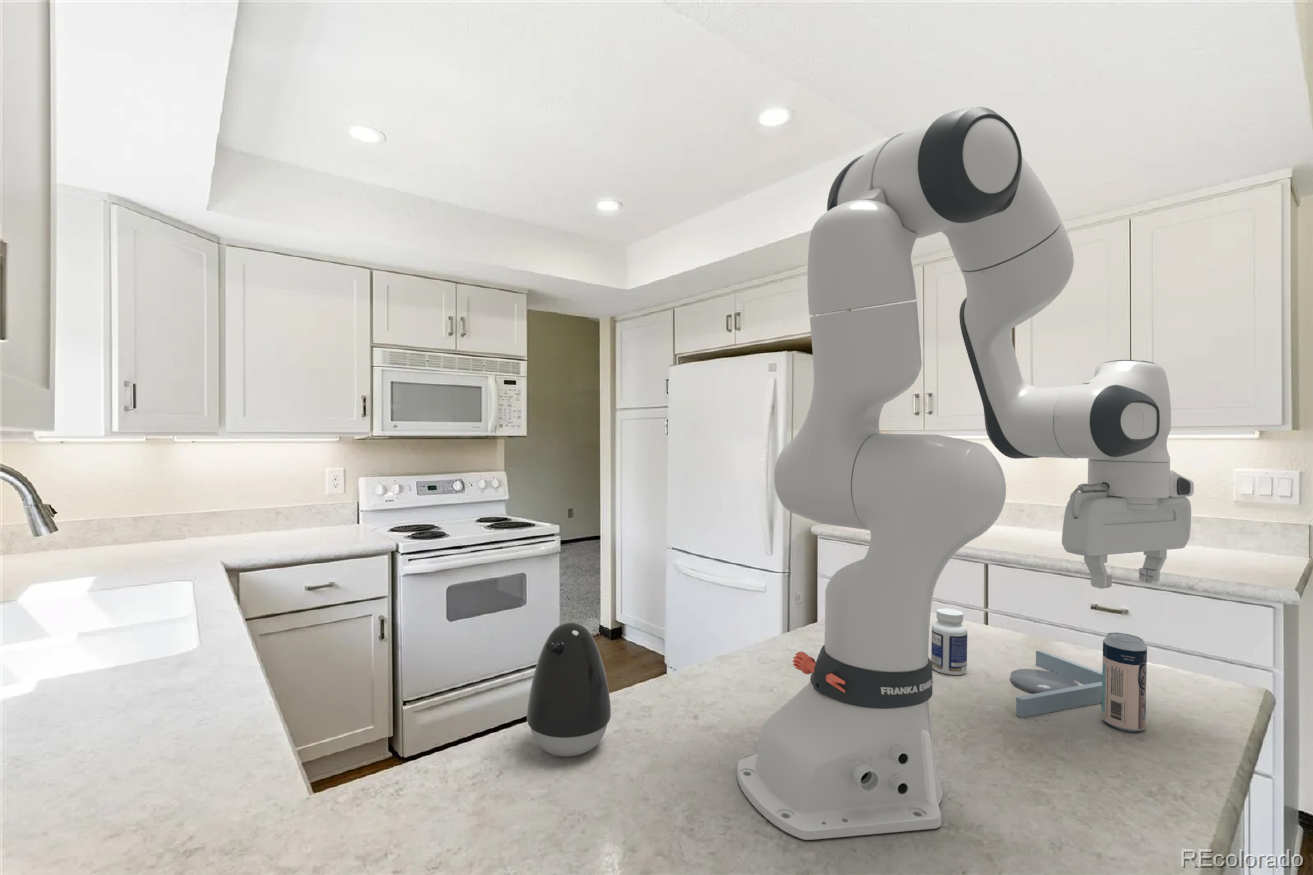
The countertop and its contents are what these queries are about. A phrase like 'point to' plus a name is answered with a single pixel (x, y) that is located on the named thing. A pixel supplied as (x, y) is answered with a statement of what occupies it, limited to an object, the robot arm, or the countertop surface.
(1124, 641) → the beer can
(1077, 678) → the divider wall
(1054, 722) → the countertop surface
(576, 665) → the black egg-shaped tumbler
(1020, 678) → the coaster
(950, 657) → the pill bottle
